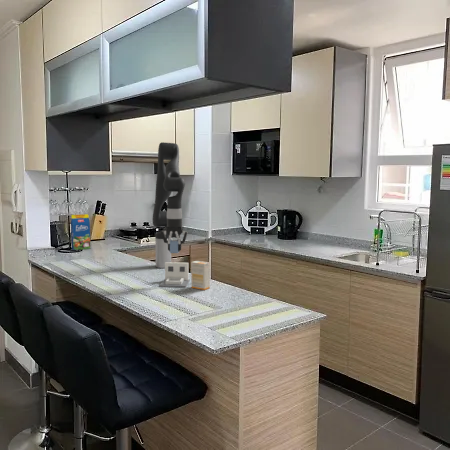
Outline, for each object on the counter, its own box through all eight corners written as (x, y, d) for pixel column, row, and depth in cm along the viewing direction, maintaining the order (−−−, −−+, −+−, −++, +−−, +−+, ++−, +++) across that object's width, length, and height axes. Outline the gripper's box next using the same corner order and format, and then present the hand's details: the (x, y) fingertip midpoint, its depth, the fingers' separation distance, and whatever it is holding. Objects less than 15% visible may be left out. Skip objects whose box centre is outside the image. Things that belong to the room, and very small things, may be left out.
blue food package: (90, 248, 331) (89, 214, 328) (73, 250, 325) (72, 215, 322) (88, 247, 337) (87, 213, 334) (71, 248, 330) (70, 214, 327)
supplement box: (210, 288, 225) (210, 262, 223) (204, 290, 221) (204, 263, 219) (196, 285, 230) (196, 260, 228) (190, 287, 226) (190, 261, 224)
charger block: (171, 251, 233) (171, 239, 232) (179, 251, 233) (179, 239, 232) (169, 253, 229) (169, 240, 228) (177, 253, 229) (177, 240, 228)
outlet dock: (164, 280, 240) (164, 262, 239) (189, 281, 239) (189, 262, 238) (159, 286, 227) (159, 267, 226) (185, 287, 226) (185, 267, 225)
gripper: (189, 216, 232) (189, 250, 234) (161, 216, 233) (162, 249, 235) (187, 218, 225) (187, 252, 227) (158, 218, 226) (159, 252, 228)
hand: (174, 251), depth 231 cm, fingers closed on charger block, 4 cm apart
